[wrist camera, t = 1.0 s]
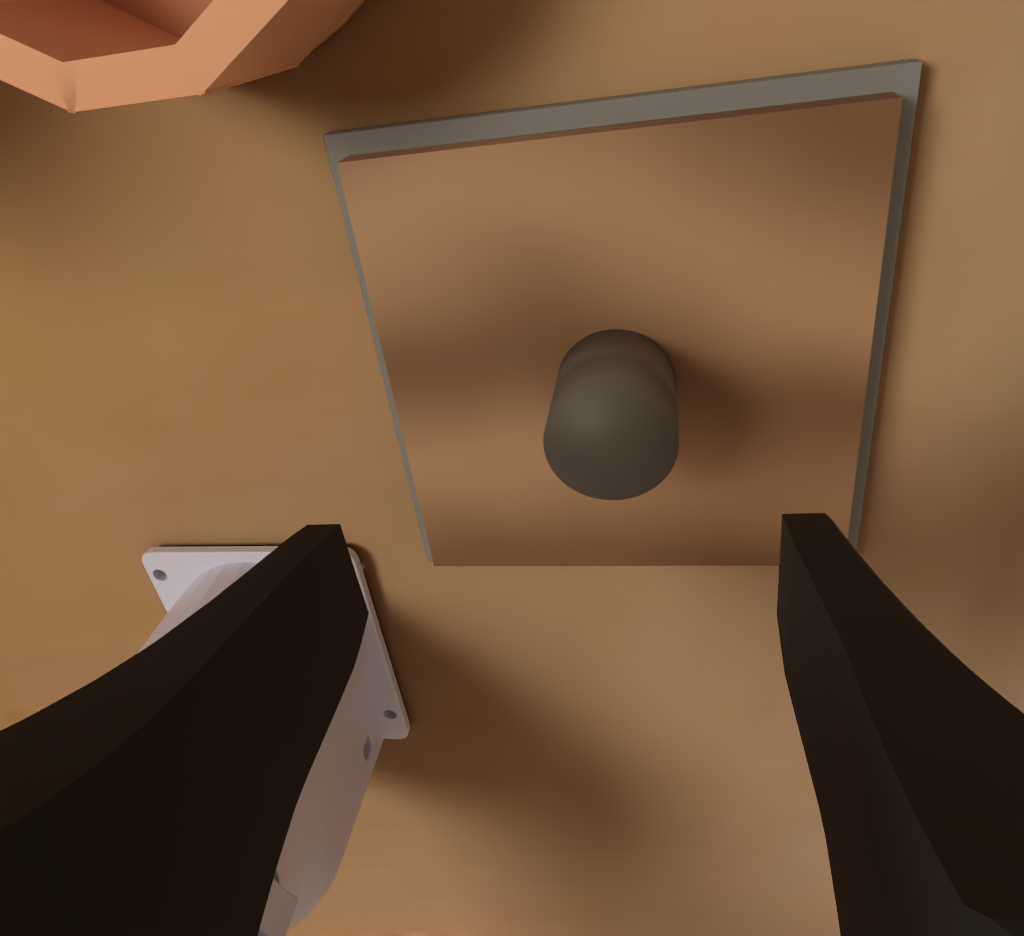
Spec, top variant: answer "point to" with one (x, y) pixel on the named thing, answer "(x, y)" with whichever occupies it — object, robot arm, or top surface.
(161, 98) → the terracotta bowl
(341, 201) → the slate mat
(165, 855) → the robot arm
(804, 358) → the walnut cover
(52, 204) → the top surface
